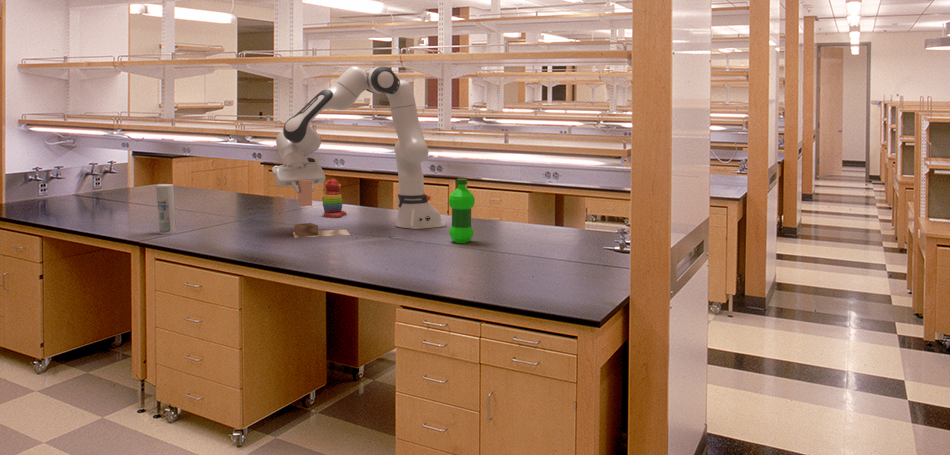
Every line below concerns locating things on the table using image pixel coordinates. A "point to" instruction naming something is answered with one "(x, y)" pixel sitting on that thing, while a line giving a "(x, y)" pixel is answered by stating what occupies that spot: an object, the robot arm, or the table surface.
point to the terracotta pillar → (305, 193)
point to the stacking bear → (333, 200)
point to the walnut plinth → (306, 229)
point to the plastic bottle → (461, 213)
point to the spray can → (166, 208)
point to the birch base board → (327, 233)
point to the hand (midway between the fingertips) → (305, 191)
